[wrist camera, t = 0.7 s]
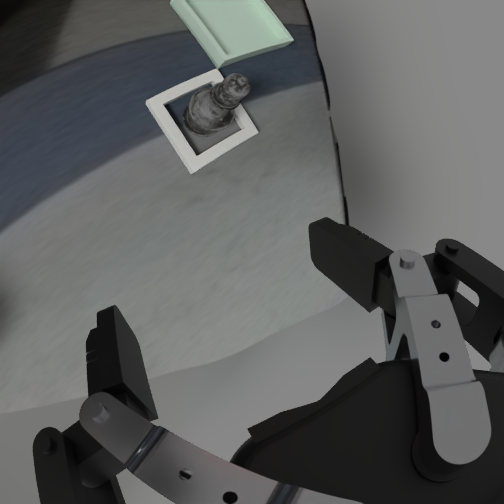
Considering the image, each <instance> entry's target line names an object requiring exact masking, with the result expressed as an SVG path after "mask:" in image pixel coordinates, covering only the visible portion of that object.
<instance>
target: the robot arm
mask: <svg viewBox="0 0 504 504" xmlns="http://www.w3.org/2000/svg"><path fill="white" fill-rule="evenodd" d="M309 240H310V252H311V259H312V261H313V263H314V265H315V267H316V268H317V269H318V270H319V271H321V272H322V273H323V274H324V275H325V276H327V277H328V278H329V279H330V280H331V281H333V282H334V283H335V284H336V285H337V286H339V287H340V288H341V289H342V290H343V291H345V292H346V293H347V294H348V295H349V296H351V297H352V298H353V299H354V300H355V301H356V302H358V303H359V304H360V305H361V306H362V307H364V308H365V309H366V310H367V311H368V312H371V311H373V310H374V309H376V308H377V307H380V308H382V313H381V317H382V324H383V331H384V338H385V347H386V360H385V362H382V363H378V364H377V363H375V362H374V361H373V360H372V359H371V358H368V359H367V360H365V361H364V362H363V363H361V364H360V365H358V366H357V367H355V368H354V369H352V370H351V371H349V372H348V373H346V374H345V375H343V377H342V378H341V379H340V380H339V381H338V382H337V383H336V384H335V385H334V386H333V387H332V388H331V389H330V390H329V391H328V392H327V393H326V394H325V395H324V396H323V397H322V398H321V399H320V400H319V401H317V402H314V403H311V404H307V405H304V406H301V407H297V408H294V409H291V410H287V411H283V412H280V413H278V414H276V415H274V416H273V417H270V418H268V419H267V420H264V421H263V422H260V423H258V424H256V425H254V426H252V427H250V428H248V431H249V433H250V435H251V436H252V437H250V438H249V439H248V440H247V441H245V442H244V444H243V445H241V447H240V448H239V449H238V450H237V451H236V453H235V454H234V455H233V457H232V459H231V460H230V462H228V461H226V460H223V459H221V458H219V457H217V456H215V455H213V454H211V453H209V452H207V451H205V450H203V449H201V448H199V447H197V446H195V445H193V444H191V443H190V442H188V441H186V440H184V439H182V438H180V437H179V436H177V435H175V434H174V433H172V432H170V431H168V430H166V429H165V428H163V427H161V426H156V425H154V424H152V423H151V422H150V421H153V420H156V419H158V415H157V412H156V408H155V405H154V401H153V398H152V394H151V390H150V387H149V383H148V379H147V375H146V371H145V367H144V363H143V358H142V354H141V350H140V346H139V343H138V341H137V338H136V336H135V335H134V333H133V331H132V330H131V328H130V327H129V325H128V323H127V322H126V320H125V319H124V317H123V315H122V314H121V312H120V311H119V309H118V307H117V306H116V305H113V306H111V307H108V308H106V309H104V310H101V311H99V312H97V328H94V329H92V330H90V333H89V335H88V338H87V340H86V353H87V355H86V362H87V382H88V396H89V397H88V398H87V399H86V400H85V402H84V403H83V404H82V406H81V409H80V413H79V419H80V420H78V421H77V422H76V423H75V424H73V425H72V426H70V427H69V428H68V429H66V430H65V431H64V432H62V433H61V432H60V431H58V430H57V429H56V428H53V427H47V428H44V429H42V430H41V431H40V432H39V433H38V434H37V435H36V437H35V439H34V443H33V457H34V467H35V474H36V481H37V487H38V492H39V498H40V503H41V504H126V503H125V500H124V498H123V495H122V492H121V489H120V486H119V483H118V480H117V477H116V475H117V474H118V473H120V472H121V471H123V470H124V469H126V468H127V469H128V470H129V471H130V472H131V473H132V474H133V475H135V476H136V477H137V478H139V479H140V480H141V481H143V482H144V483H146V484H147V485H148V486H150V487H151V488H153V489H154V490H156V491H157V492H158V493H160V494H161V495H163V496H164V497H166V498H167V499H169V500H171V501H172V502H174V503H175V504H504V271H503V270H501V269H500V268H498V267H497V266H496V265H494V264H493V263H491V262H490V261H488V260H487V259H485V258H484V257H482V256H481V255H479V254H478V253H476V252H475V251H473V250H472V249H470V248H468V247H466V246H465V245H464V244H462V243H460V242H458V241H456V240H453V239H442V240H439V241H438V242H437V244H436V248H435V253H432V254H429V255H425V256H421V255H420V254H419V253H416V252H414V251H411V250H398V251H396V252H394V251H392V250H390V249H389V248H387V247H385V246H384V245H382V244H380V243H379V242H377V241H375V240H374V239H372V238H369V236H367V235H365V234H364V233H363V234H362V233H361V232H360V231H359V230H357V229H355V228H353V227H351V226H347V225H343V224H338V223H337V222H335V221H333V220H331V219H330V218H328V217H325V218H322V219H320V220H317V221H315V222H313V223H310V225H309ZM459 281H462V282H463V283H464V284H466V285H467V286H468V287H469V288H471V289H472V290H473V291H475V292H476V293H477V294H478V296H479V305H478V308H477V307H476V306H475V305H474V304H472V303H471V302H470V301H469V300H467V299H466V298H465V297H464V296H462V295H461V294H460V293H458V292H457V288H458V284H459ZM464 339H465V340H466V341H467V342H468V343H469V344H470V345H472V347H474V348H475V349H476V350H477V351H478V352H479V353H480V354H481V355H482V356H483V357H484V358H485V359H486V360H487V361H489V362H490V364H491V369H490V371H483V370H474V369H472V366H471V362H470V359H469V355H468V352H467V349H466V345H465V342H464Z"/></svg>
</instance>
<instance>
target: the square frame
mask: <svg viewBox="0 0 504 504" xmlns="http://www.w3.org/2000/svg"><path fill="white" fill-rule="evenodd" d="M223 80H224V78H223V77H222V75H221V74H220V72H219V71H218V69H214V70H212V71H209V72H207V73H204V74H202V75H200V76H197V77H195V78H192V79H190V80H188V81H186V82H183V83H181V84H179V85H177V86H175V87H173V88H170V89H168V90H166V91H164V92H162V93H160V94H158V95H156V96H154V97H152V98H150V99H148V100H147V101H146V103H145V104H146V106H147V107H148V109H149V110H150V112H151V113H152V115H153V116H154V118H155V120H156V121H157V123H158V124H159V126H160V127H161V129H162V130H163V132H164V133H165V135H166V137H167V138H168V140H169V141H170V143H171V144H172V146H173V147H174V149H175V150H176V152H177V153H178V155H179V157H180V158H181V160H182V161H183V163H184V164H185V166H186V167H187V169H188V170H189V172H190V173H191V174H192V173H194V172H196V171H197V170H199V169H200V168H202V167H203V166H205V165H206V164H208V163H209V162H211V161H213V160H214V159H216V158H217V157H219V156H220V155H222V154H224V153H225V152H227V151H229V150H230V149H232V148H233V147H235V146H237V145H238V144H240V143H242V142H243V141H245V140H247V139H249V138H250V137H252V136H254V135H255V134H257V133H259V132H258V131H257V129H256V127H255V126H254V124H253V123H252V121H251V119H250V118H249V116H248V115H247V113H246V111H245V110H244V108H243V107H242V105H241V104H239V106H238V107H237V108H235V117H234V119H235V120H236V122H237V124H238V125H239V127H240V128H241V130H240V131H238V132H237V133H235V134H233V135H231V136H230V137H228V138H226V139H225V140H223V141H221V142H219V143H218V144H216V145H214V146H213V147H211V148H209V149H208V150H206V151H204V152H203V153H201V154H200V155H198V156H196V154H195V153H194V151H193V150H192V148H191V147H190V145H189V144H188V142H187V140H186V139H185V137H184V136H183V134H182V133H181V131H180V130H179V128H178V127H177V125H176V124H175V122H174V120H173V119H172V117H171V116H170V114H169V113H168V111H167V110H166V108H165V107H164V106H165V105H167V104H169V103H171V102H173V101H175V100H177V99H179V98H181V97H183V96H185V95H187V94H189V93H191V92H193V91H195V90H197V89H200V88H202V87H204V86H206V85H209V84H212V85H213V86H214V85H215V84H216V83H219V82H222V81H223Z"/></svg>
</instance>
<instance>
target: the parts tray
mask: <svg viewBox="0 0 504 504" xmlns="http://www.w3.org/2000/svg"><path fill="white" fill-rule="evenodd" d="M169 4H170V5H171V6H172V8H173V9H174V10H175V11H176V13H177V14H178V15H179V17H180V18H181V19H182V21H183V22H184V23H185V25H186V26H187V27H188V29H189V30H190V31H191V33H192V34H193V35H194V37H195V38H196V40H197V41H198V42H199V44H200V45H201V46H202V48H203V49H204V51H205V52H206V53H207V55H208V56H209V58H210V59H211V61H212V62H213V63H214V65H215V66H216V68H217V69H219V68H222V67H224V66H227V65H230V64H232V63H235V62H238V61H241V60H244V59H247V58H250V57H253V56H256V55H259V54H262V53H265V52H269V51H272V50H276V49H279V48H283V47H286V46H287V45H288V44H290V43H291V42H292V41H294V39H293V38H292V37H291V35H290V34H289V32H288V31H287V30H286V28H285V27H284V26H283V24H282V23H281V22H280V20H279V19H278V18H277V16H276V15H275V14H274V12H273V11H272V10H271V9H270V7H269V6H268V5H267V4H266V2H265V1H264V0H171V1H170V3H169Z"/></svg>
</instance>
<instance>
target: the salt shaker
mask: <svg viewBox="0 0 504 504" xmlns="http://www.w3.org/2000/svg"><path fill="white" fill-rule="evenodd" d="M250 88H251V86H250V82H249V80H248V79H247V78H246V77H245V76H244V75H242V74H238V73H233V74H230V75H228V76H227V77H226V78H225V79H224V80H223V81H222V82H219V83H216V84H215V85H214V86H213V87H212V88H210V87H207V88H202V89H200V90H198V91H196V92H195V93H194V94H193V95H192V97H191V99H190V102H189V105H188V106H187V107H186V109H185V111H184V114H183V121H184V124H185V126H186V128H187V129H188V130H189V131H190V132H191V133H192V134H194V135H196V136H200V137H208V136H211V135H213V134H215V133H216V132H217V131H219V130H223V129H225V128H226V127H228V126H229V125H230V124H231V123H232V121H233V119H234V117H235V108H237V107H238V106H239V104H240V102H241V99H242V98H244V97H245V96H246V95H247V94H248V93H249V91H250Z"/></svg>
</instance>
